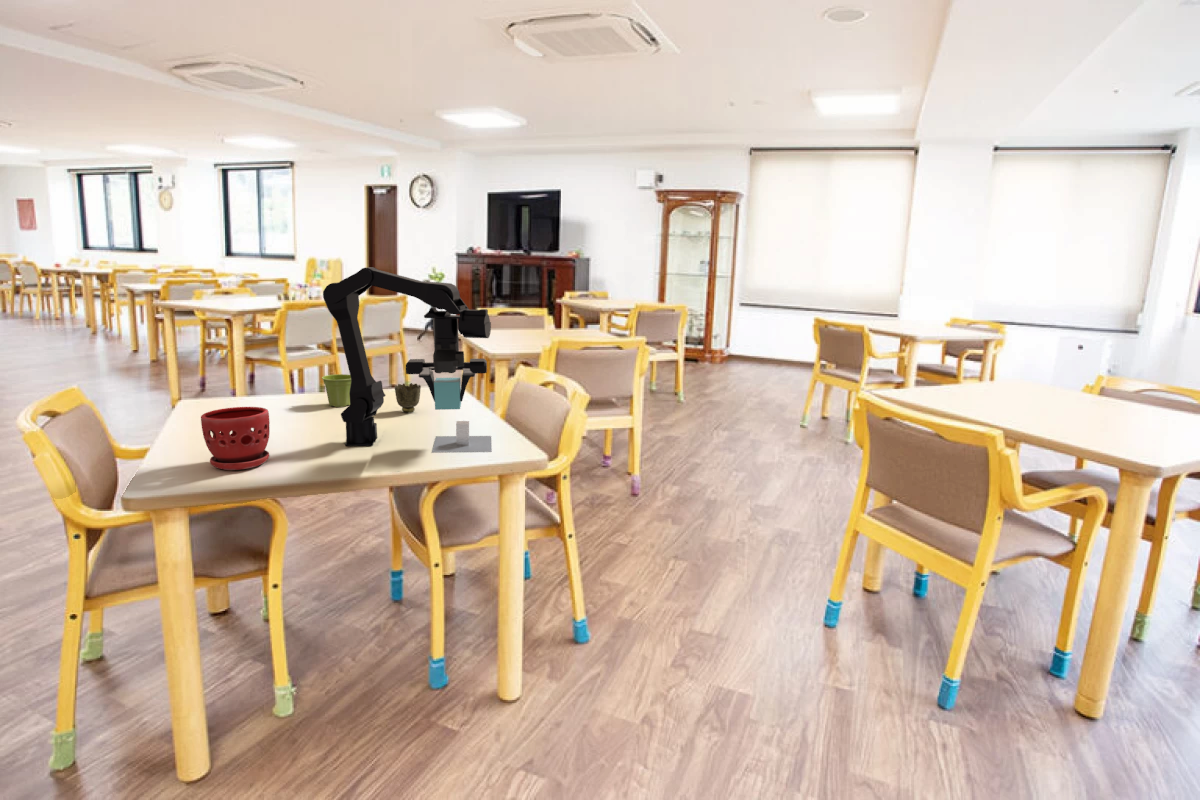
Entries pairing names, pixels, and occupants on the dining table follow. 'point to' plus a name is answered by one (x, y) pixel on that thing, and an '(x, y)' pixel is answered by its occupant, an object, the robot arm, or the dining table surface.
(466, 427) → the post
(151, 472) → the dining table surface
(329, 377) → the plant pot
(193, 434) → the dining table surface
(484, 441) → the base board
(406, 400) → the scalloped urn planter
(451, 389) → the teal block
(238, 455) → the plant pot
